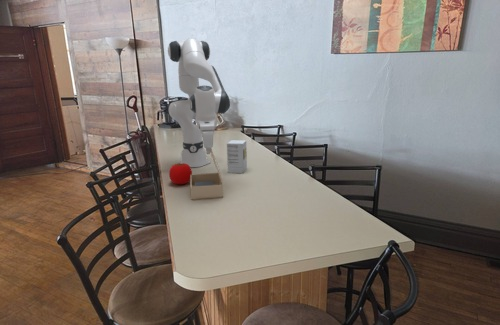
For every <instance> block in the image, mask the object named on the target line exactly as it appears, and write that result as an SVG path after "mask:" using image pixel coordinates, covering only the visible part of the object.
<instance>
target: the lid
mask: <svg viewBox="0 0 500 325" xmlns="http://www.w3.org/2000/svg"><path fill="white" fill-rule="evenodd" d="M210 155H211V158H212V161H213V163H214V165H215V168H216V172H217V173H218V174H219V176H220V179H221V182H222V185H224V180H223V176H222V173H221V171H220V168H219V165H218V162H217V159H216V157H215V154H214V151H213V150H212V148H210Z"/></svg>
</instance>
